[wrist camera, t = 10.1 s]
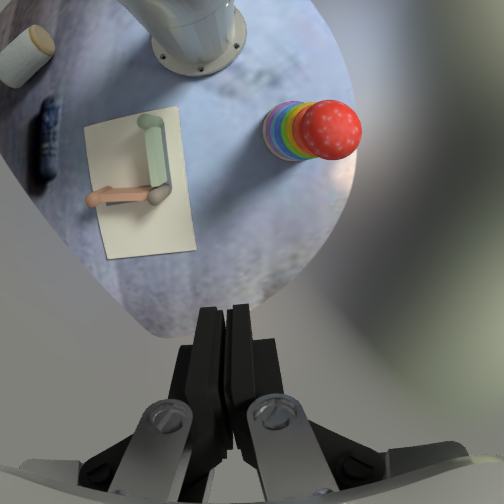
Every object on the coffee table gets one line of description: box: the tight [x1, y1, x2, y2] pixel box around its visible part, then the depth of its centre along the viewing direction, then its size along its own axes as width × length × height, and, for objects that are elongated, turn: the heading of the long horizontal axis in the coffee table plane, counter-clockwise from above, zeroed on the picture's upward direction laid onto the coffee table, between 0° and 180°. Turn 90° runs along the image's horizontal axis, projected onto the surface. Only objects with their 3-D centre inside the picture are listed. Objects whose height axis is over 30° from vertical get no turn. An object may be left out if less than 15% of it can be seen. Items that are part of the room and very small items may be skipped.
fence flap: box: [85, 183, 172, 208], centre depth 37 cm, size 10×2×6 cm, turn 88°
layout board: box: [84, 106, 197, 259], centre depth 39 cm, size 20×14×1 cm
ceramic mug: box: [0, 25, 55, 88], centre depth 27 cm, size 11×8×8 cm
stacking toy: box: [262, 100, 362, 161], centre depth 29 cm, size 8×8×19 cm
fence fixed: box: [137, 113, 167, 187], centre depth 35 cm, size 9×2×6 cm, turn 5°
